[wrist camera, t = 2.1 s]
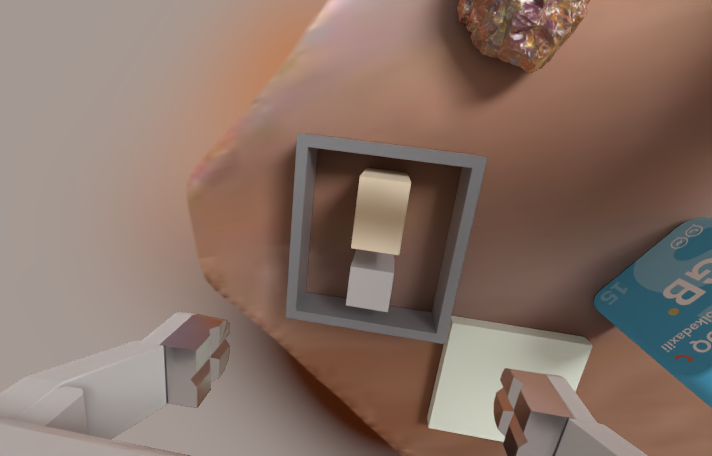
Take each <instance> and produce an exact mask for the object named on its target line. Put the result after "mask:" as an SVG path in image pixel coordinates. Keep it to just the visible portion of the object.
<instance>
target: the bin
mask: <svg viewBox="0 0 712 456" xmlns="http://www.w3.org/2000/svg"><path fill="white" fill-rule="evenodd" d="M318 148H320V149H327V150H335V151H343V152H351V153H359V154H366V155H374V156H382V157H390V158H397V159H405V160H413V161H421V162H429V163H436V164H444V165H452V166H460V167H462V170H461V175H460V179H459V184H458V189H457V194H456V199H455V203H454V208H453V213H452V218H451V223H450V227H449V232H448V237H447V242H446V247H445V251H444V256H443V261H442V266H441V270H440V275H439V280H438V285H437V290H436V294H435V299H434V304H433V309H432V312H426V311H420V310H414V309H408V308H402V307H395V306H389V308H388V312H383V311H377V310H371V309H365V308H359V307H353V306H347V305H346V300H347V299H346V298H339V297H333V296H327V295H321V294H314V293H308V292H306V285H307V273H308V260H309V248H310V236H311V224H312V212H313V200H314V188H315V176H316V164H317V151H318ZM486 162H487V157H483V156H479V155H475V154H467V153H459V152H451V151H443V150H435V149H427V148H419V147H411V146H403V145H395V144H387V143H379V142H371V141H363V140H355V139H347V138H340V137H332V136H324V135H316V134H297V145H296V161H295V176H294V192H293V208H292V223H291V239H290V254H289V270H288V285H287V301H286V316H285V318H291V319H297V320H303V321H309V322H315V323H321V324H327V325H333V326H339V327H344V328H350V329H356V330H362V331H368V332H374V333H380V334H386V335H392V336H398V337H404V338H410V339H416V340H422V341H428V342H434V343H440V344H445V341H446V337H447V332H448V328H449V324H450V319H451V315H452V311H453V306H454V302H455V297H456V293H457V289H458V284H459V280H460V276H461V271H462V267H463V262H464V258H465V254H466V249H467V245H468V241H469V236H470V232H471V227H472V223H473V219H474V214H475V210H476V206H477V201H478V197H479V192H480V188H481V184H482V179H483V175H484V171H485V166H486Z"/></svg>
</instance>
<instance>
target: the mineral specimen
mask: <svg viewBox="0 0 712 456" xmlns="http://www.w3.org/2000/svg"><path fill="white" fill-rule="evenodd" d="M589 1H590V0H459V2H458V5H457V11H458V16H459V21H460V23H462V22H463V24H465V23H466V28H467V31H470V32H472V33H471V37H470V39H471V40H472V44H473V45H474V47H475V48H478V49H479V51H480V53H481V54H483V55H487V56H490V57H491V58H492V57H497V58H499V59H500V60H502V61H504V62H510V63H511V64H512V65H516V66H518V67H521V68H522V69H523V70H524V71H525V72H527V73H532V72H534V71H536V70H537V69H540V68H542V67H543V66H544V65H545V64H546V63H547V62H549V61H550V60H551V59H552V57H553V55H554V54H555V52H557V50H558V49H559V48H560V47H561V46H562V44H563V43H564V42H565V41H566V40H567V39H568V38H569V37H570V36H571V34H572V33H573V32H574V31H575V30H576V28H577V27H578V25H579V24H580V22H581V21H582V20H583V18H584V17H585V15H586V14H587V8H586V6H587V4H588V3H589Z"/></svg>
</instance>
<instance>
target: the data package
mask: <svg viewBox="0 0 712 456" xmlns="http://www.w3.org/2000/svg"><path fill="white" fill-rule="evenodd" d="M594 306H595V308H596V309H597V310H598V311H599V312H600V313H601V314H602V315H603V316H605V317H606V318H607V319H608V320H609V321H610V322H611V323H613V324H614V325H615V326H616V327H617V328H618V329H620V330H621V331H622V332H623V333H624V334H625V335H627V336H628V337H629V338H630V339H631V340H632V341H634V342H635V343H636V344H637V345H638V346H639V347H640V348H642V349H643V350H644V351H645V352H646V353H647V354H649V355H650V356H651V357H652V358H653V359H654V360H656V361H657V362H658V363H659V364H660V365H661V366H663V367H664V368H665V369H666V370H667V371H668V372H670V373H671V374H672V375H673V376H674V377H675V378H677V379H678V380H679V381H680V382H681V383H683V384H684V385H685V386H686V387H687V388H688V389H690V390H691V391H692V392H693V393H694V394H696V395H697V396H698V397H699V398H700V399H702V400H703V401H704V402H705V403H706V404H708V405H709V406H710V407H712V219H710V218H696V219H692V220H689V221H687V222H684V223H683V224H681V225H679V226H678V227H677V228H676V229H674V230H673V231H672V232H671V233H670V234H668V235H667V236H666V237H665V238H663V239H662V240H661V241H660V242H659V243H657V244H656V245H655V246H654V247H653V248H651V249H650V250H649V251H648V252H646V253H645V254H644V255H643V256H642V257H640V258H639V259H638V260H637V261H635V262H634V263H633V264H632V265H631V266H629V267H628V268H627V269H626V270H625V271H623V272H622V273H621V274H620V275H618V276H617V277H616V278H615V279H614V280H612V281H611V282H610V283H609V284H607V285H606V286H605V287H604V288H603V289H601V290H600V291H599V292H598V293H597V295H596V296H595V299H594Z"/></svg>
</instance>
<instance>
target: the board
mask: <svg viewBox="0 0 712 456" xmlns="http://www.w3.org/2000/svg"><path fill="white" fill-rule="evenodd" d="M592 347H593V345H592V344H591V343H590V342H589V341H588V340H587V339H586V338H585V337H582V336H576V335H569V334H563V333H557V332H551V331H545V330H538V329H532V328H526V327H520V326H513V325H507V324H501V323H495V322H489V321H482V320H476V319H470V318H464V317H458V316H451V319H450V324H449V328H448V332H447V337H446V341H445V344H444V345H443V350H442V354H441V359H440V363H439V367H438V372H437V376H436V380H435V385H434V389H433V394H432V398H431V402H430V407H429V411H428V416H427V420H428V428H432V429H437V430H442V431H448V432H453V433H459V434H464V435H469V436H475V437H480V438H485V439H491V440H496V441H502V442H504V440H505V436H504V435H503V434H502V433H501V432H500V431H499V430H498V429H497V426H496V423H495V419H494V400H495V396H496V392H498V391H499V390H500V389H502V388H503V385H502V383H501V381H500V378H501V375H502V372H503V371H504V369H505V368H509V369H515V370H522V371H528V372H534V373H541V374H542V373H544V374H551V375H558V376H562V377H563V378H565V379H566V380H567V382H568V383H569V384H570V386H571V387H572V389H573V390H574V391H576V389H577V386H578V383H579V381H580V378H581V375H582V373H583V370H584V368H585V365H586V362H587V360H588V357H589V354H590V352H591V349H592Z"/></svg>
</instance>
